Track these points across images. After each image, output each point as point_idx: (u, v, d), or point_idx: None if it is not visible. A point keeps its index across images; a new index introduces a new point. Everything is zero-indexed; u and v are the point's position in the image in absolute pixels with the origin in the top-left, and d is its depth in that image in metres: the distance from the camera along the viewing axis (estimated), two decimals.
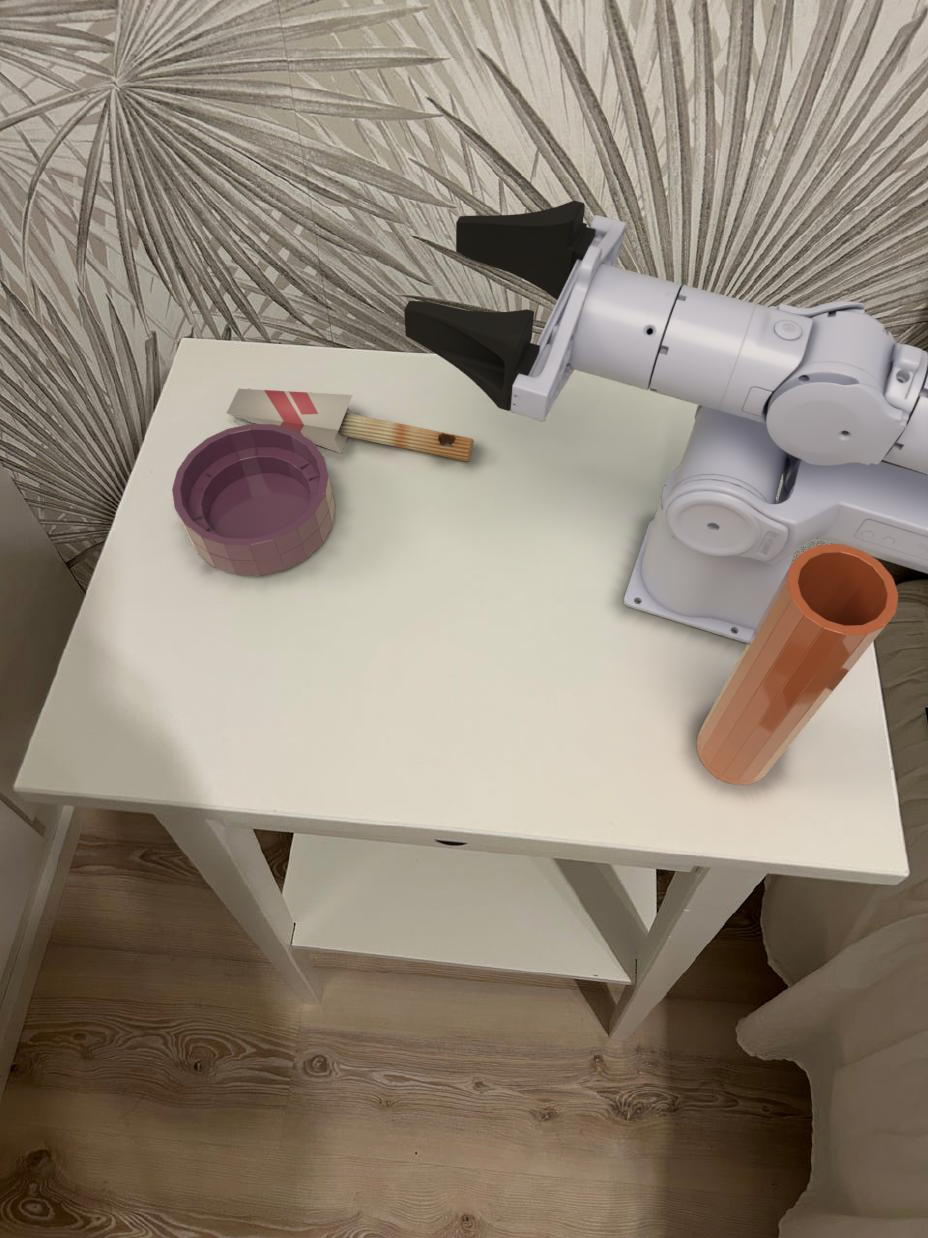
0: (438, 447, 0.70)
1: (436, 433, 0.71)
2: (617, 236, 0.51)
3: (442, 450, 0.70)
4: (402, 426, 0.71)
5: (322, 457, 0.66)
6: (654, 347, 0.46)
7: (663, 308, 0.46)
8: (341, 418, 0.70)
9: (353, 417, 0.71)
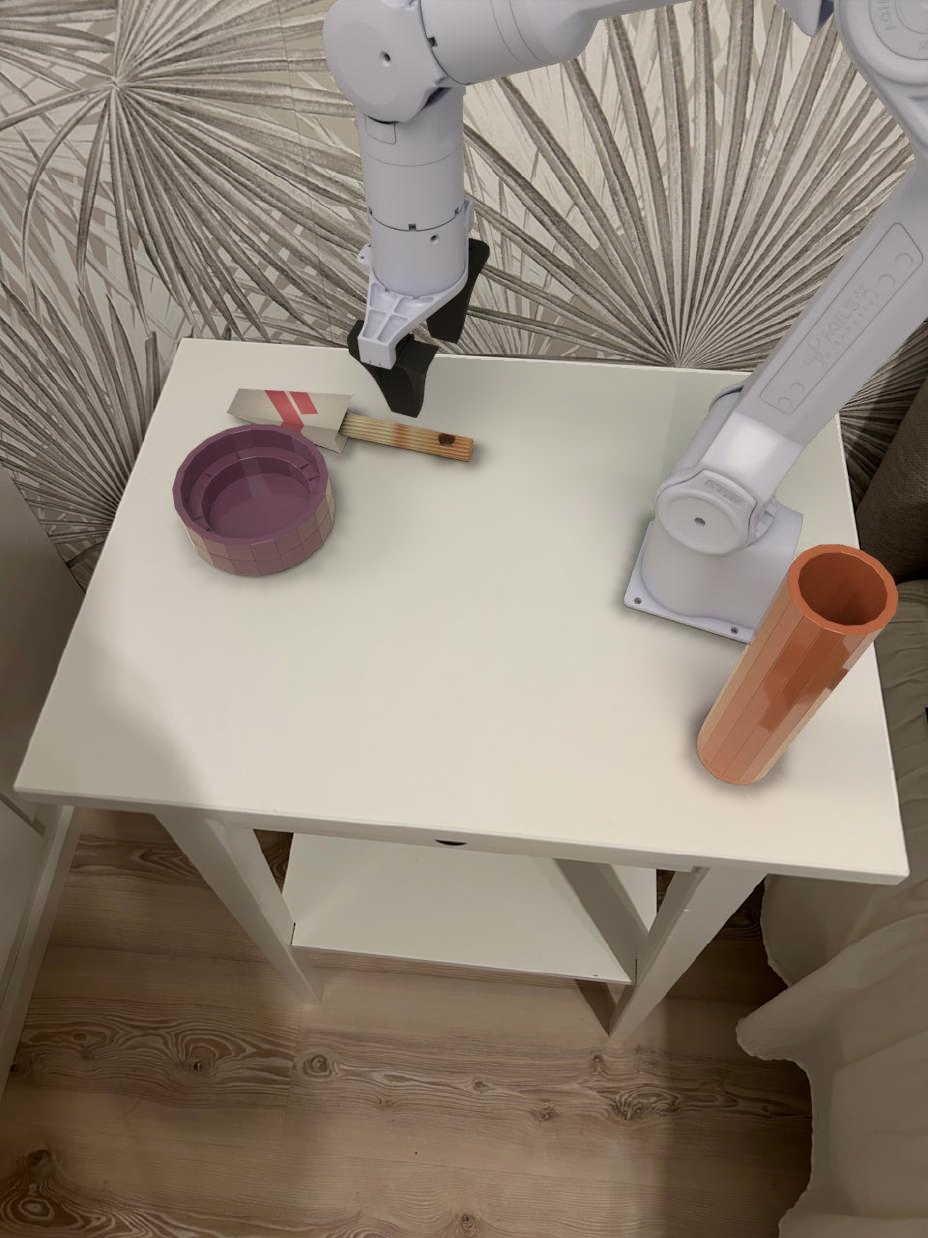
0: (438, 447, 0.70)
1: (436, 433, 0.71)
2: None
3: (442, 450, 0.70)
4: (402, 426, 0.71)
5: (322, 457, 0.66)
6: (375, 223, 0.51)
7: None
8: (341, 418, 0.70)
9: (353, 417, 0.71)
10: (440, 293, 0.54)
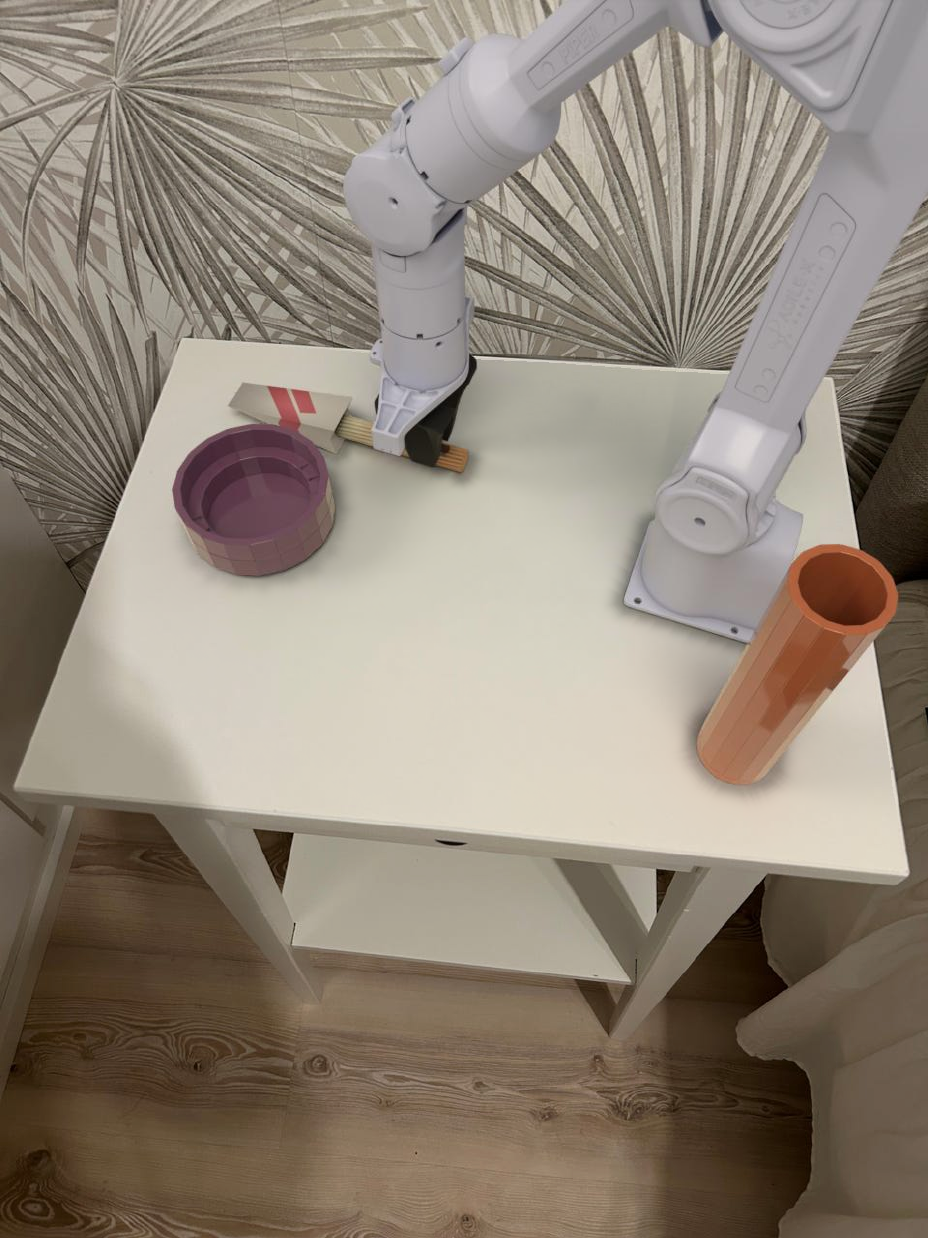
0: None
1: None
2: None
3: None
4: None
5: (322, 457, 0.66)
6: (387, 331, 0.58)
7: None
8: (338, 419, 0.70)
9: (351, 419, 0.71)
10: (444, 387, 0.61)
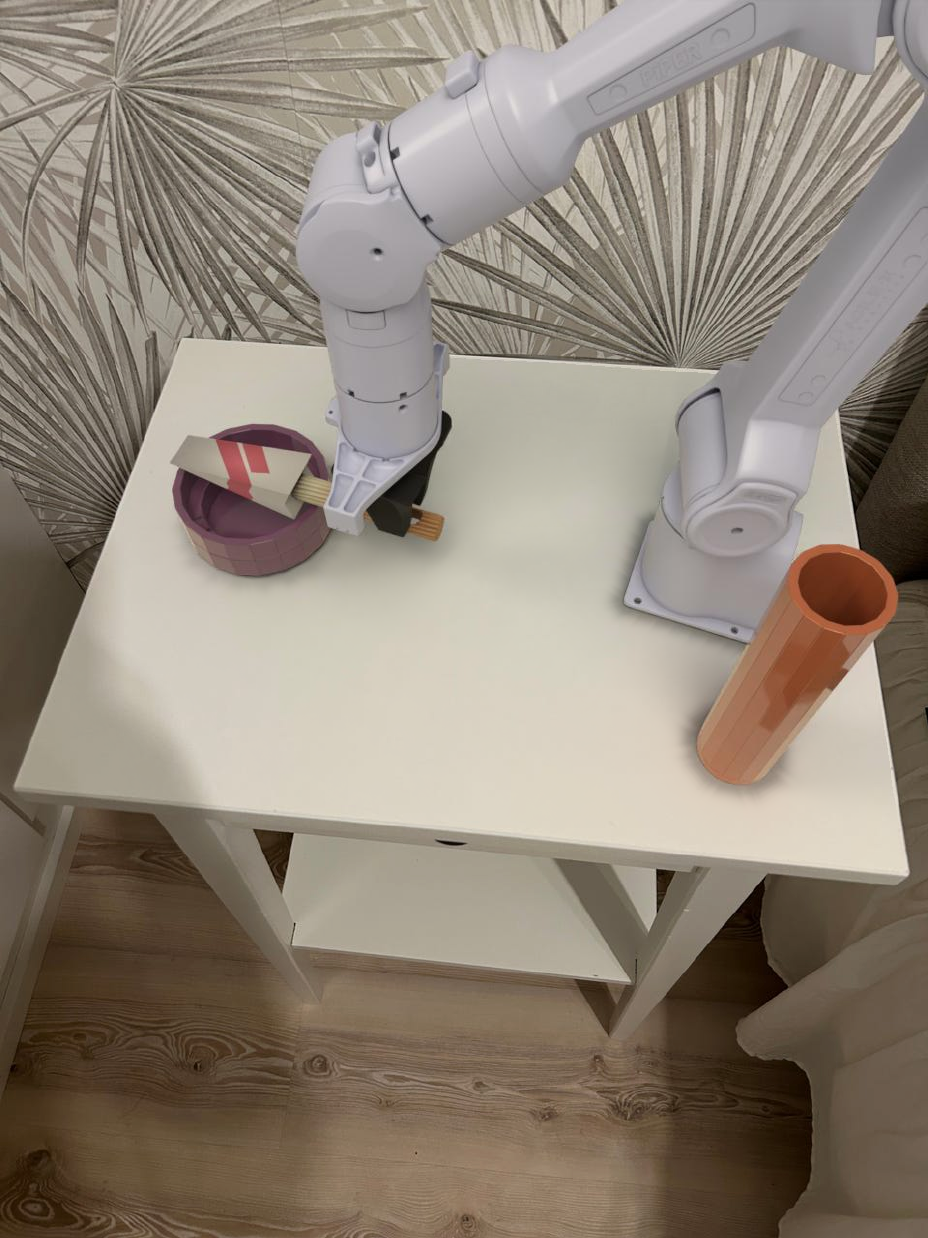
0: None
1: None
2: None
3: None
4: None
5: (322, 457, 0.66)
6: (341, 392, 0.49)
7: None
8: (294, 481, 0.61)
9: (309, 480, 0.62)
10: (411, 455, 0.52)
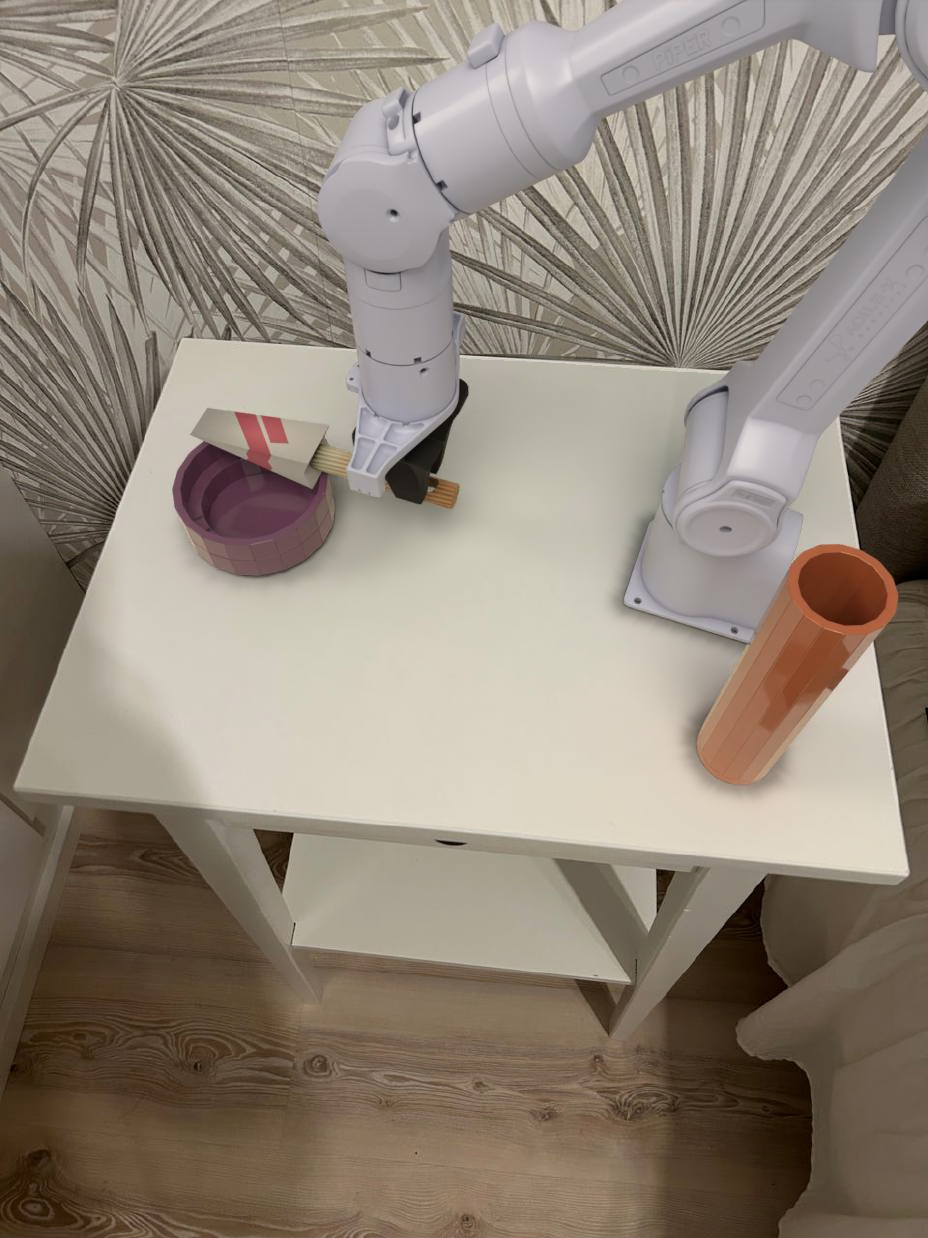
0: None
1: None
2: None
3: None
4: None
5: None
6: (364, 355, 0.50)
7: None
8: (313, 450, 0.63)
9: (327, 450, 0.63)
10: (430, 419, 0.53)
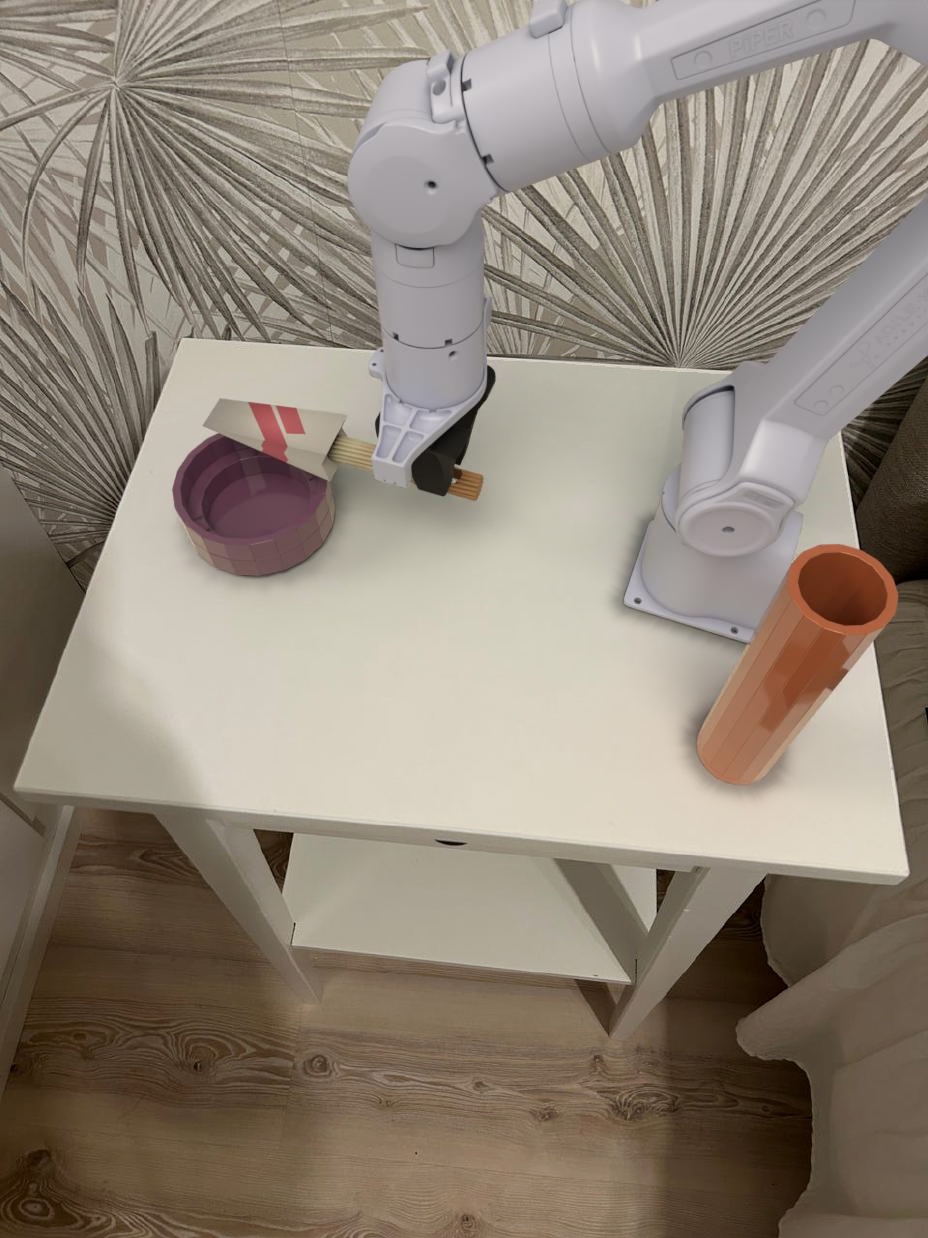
0: None
1: None
2: None
3: None
4: None
5: None
6: (390, 338, 0.48)
7: None
8: (331, 441, 0.60)
9: (346, 440, 0.61)
10: (458, 405, 0.51)
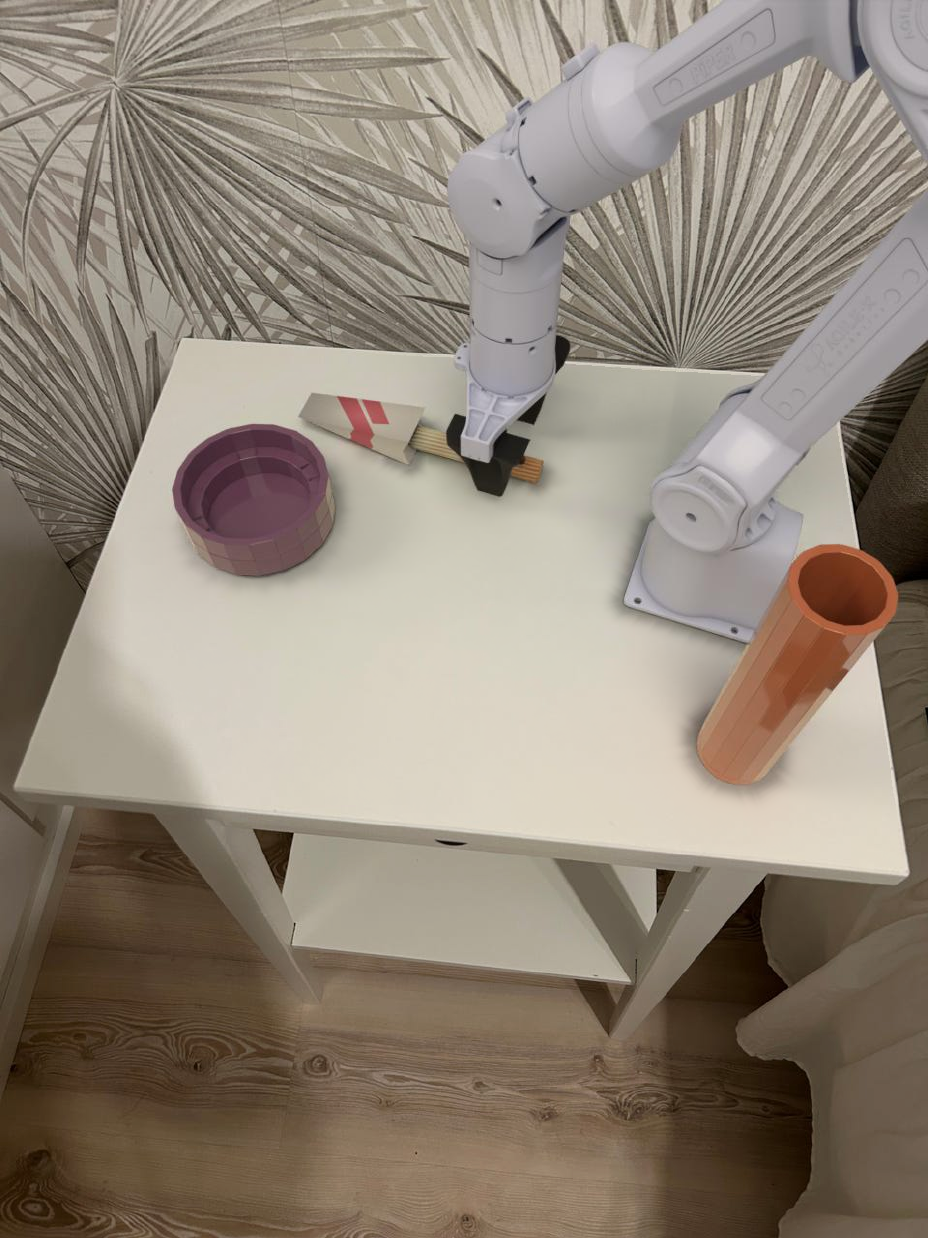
0: None
1: None
2: None
3: None
4: None
5: (322, 457, 0.66)
6: (479, 335, 0.57)
7: None
8: (412, 430, 0.70)
9: (424, 430, 0.70)
10: (532, 393, 0.60)
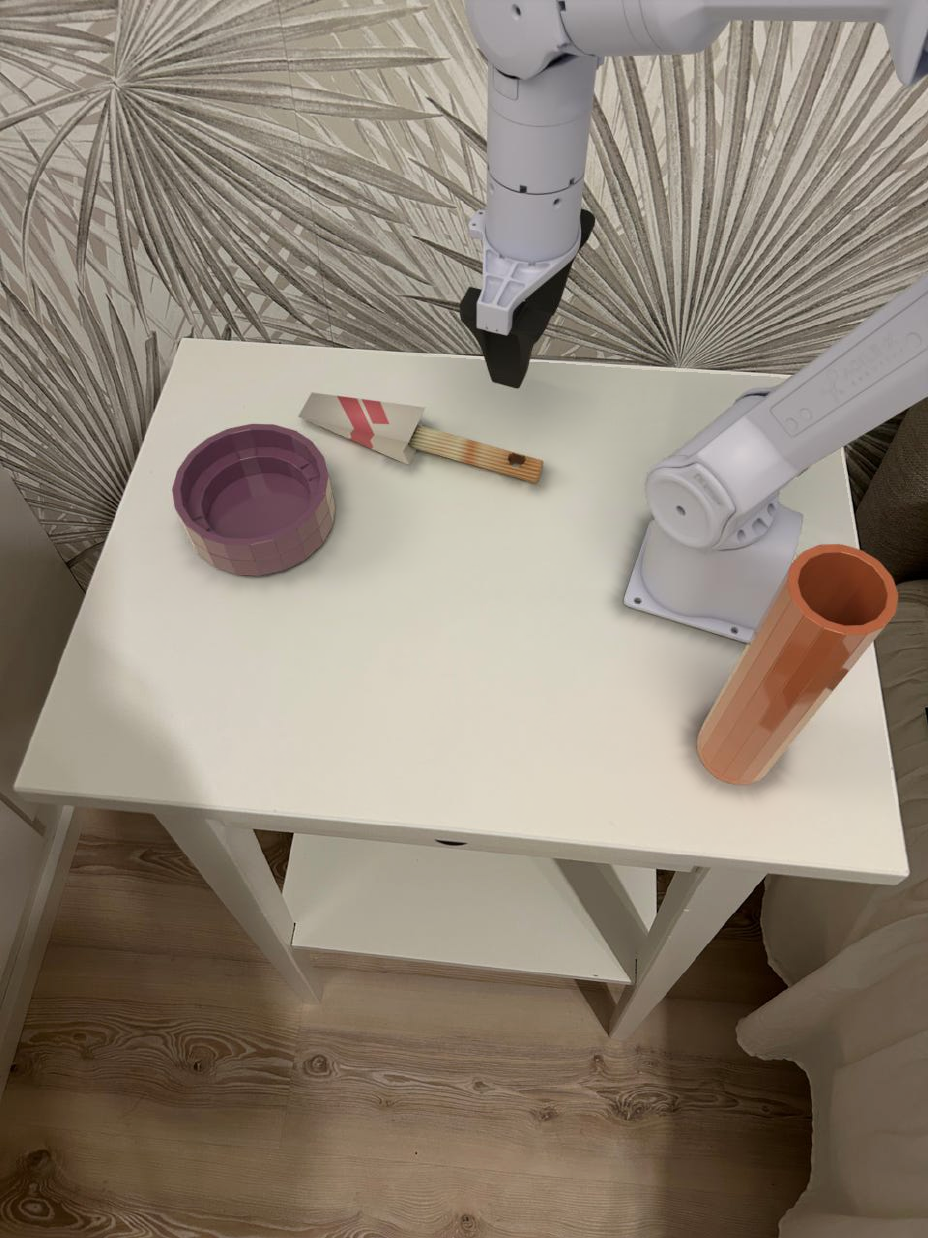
0: (507, 467, 0.69)
1: (506, 452, 0.70)
2: None
3: (511, 470, 0.69)
4: (472, 443, 0.70)
5: (322, 457, 0.66)
6: (498, 187, 0.51)
7: None
8: (412, 430, 0.70)
9: (424, 430, 0.70)
10: (556, 259, 0.54)
